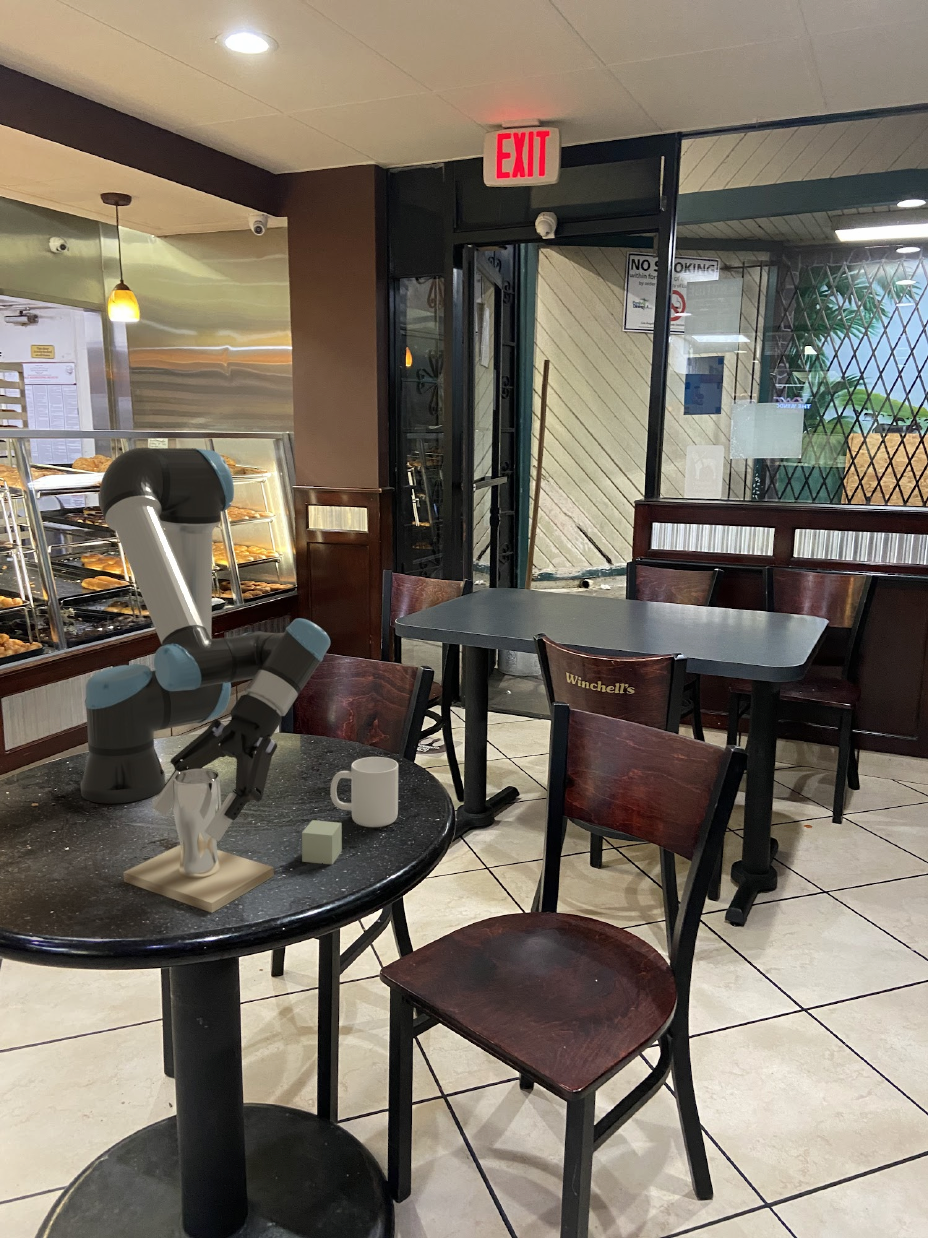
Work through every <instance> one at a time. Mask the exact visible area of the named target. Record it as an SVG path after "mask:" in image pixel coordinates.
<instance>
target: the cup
mask: <svg viewBox="0 0 928 1238" xmlns="http://www.w3.org/2000/svg"><path fill="white" fill-rule="evenodd" d="M350 768H351V770H341V771H338V772H337V773H336V774H335V775H334V776H333V778H332V779H331V784H330V798H331V802H332V803H333V805H334V806H335V807H336V808H337V809H340V810H342V811H351V818H352V821H353V822H354V823H356V824H357V825H359V826H362V827H365V828H366V827H368V828H379V827H386V826H389V825H392V824H393V823H394V822H395V821H396V820H397V818H398V815H399V814H398V811H399V762H397V761H396V760H394V759H392V758H389V757H383V756H382V757H381V756H369V757H367V756H366V757H363V758H359V759H356V760H354V761H353V762H352V763H351V767H350ZM341 779H349V780H351V783H350V784H351V785H350V786H351V789H350V790H351V802H343V801H340V799H339V798H338V794H337V789H338V788H337V787H338V783H339V781H340V780H341Z"/></svg>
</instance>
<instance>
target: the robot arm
mask: <svg viewBox="0 0 928 1238" xmlns="http://www.w3.org/2000/svg"><path fill="white" fill-rule="evenodd" d="M233 479H234V478H233V475H232V472H231V470H230V467H229V466H228V463H227V462H226V460H225V459H224V457H222V456H221V454H220V453H218V452H217V451H214V450H211V449H203V448H196V447H192V448H191V447H185V448H183V447H182V448H181V447H177V448H176V447H171V448H169V447H168V448H166V447H164V448H163V447H162V448H161V447H158V448H156V447H155V448H153V447H142V446H141V447H136V448H131V449H129V450H126V451H125V452H122V453H121V454H120V455H118V456H117V457H116V458H114V459H113V460H112V461H111V462H110V464H109V465H108V467H107V468H106V470H105V472H104V473H103V476H102V479H101V482H100V487H99V506H100V509H101V513H102V516H103V518H104V520H105V521H104V522H105V524H106V525H107V527H108V528H109V529H111V531H115V532H116V535H117V537H118V539H119V542H120V545H121V547H122V550H123V552H124V555H125V557H126V559H127V562H128V564H129V566H130V569H131V571H132V573H133V576H134V579H135V582H136V584H137V587H138V589H139V592H140V593H141V596H142V599H143V602H144V604H145V606H146V609H147V611H148V614H149V617H150V619H151V621H152V625H153V626H154V629H155V631H156V634H157V636H158V639H159V642H160V644H161V646H160V647H158V649H157V650H156V651H155V654H154V658H153V666H154V669H155V670H154V669H153V670H151V668H150V667H149V666H148V665H146V664H141V663H140V664H137V663H134V664H128V665H127V664H124V665H123V664H122V665H118V666H113V667H109V668H105V669H103V670H100V671H99V672H97V673H95V674H93V675H92V676H91V677H90V678H89V679H88V680H87V682H86V685H85V700H84V706H85V711H86V713H85V714H86V724H87V725H86V727H87V741H88V742H87V743H88V744H87V745H88V756H87V760H86V763H85V767H84V772H83V776H82V778H81V781H80V794H81V796H82V798H83V799H85V800H86V801H90V802H93V803H99V804H125V803H132V802H137V801H141V800H145V799H148V798H151V797H152V796H155V795H158V796H157V798H156V799H155V801H154V802H153V804H152V805H151V808H152V809H153V810H156V812H158V813H159V814H161V815H163V816H164V817H166V816H167V815H168V814H169V812H170V810H171V809H173V777H174V776H175V775H176V774H177V773H179V772H182V771H185V770H189V769H197V768H204V767H206V766H207V765H210V763H213V762H214V761H216V760H218V759H220V758H225V757H229V758H234V759H235V760H236V769H235V770H236V771H235V773H236V774H235V788H234V789H232V792H229V793H228V795H227V797H225V799H224V801H223V802H222V803H221V807H220V809H219V810H218V812H217V813H216V815H215V816H214V818H213V819H212V821H211V822H210V824H209V825H208V827H207V828H206V830H205V831H204V832H206V833H207V834H208V835H210V836H211V837H213V838H214V839H215V840H217V842H220V841H221V839H222V838H223V836H224V835H225V833H226V832H227V829H229V827H230V825H231V823H233V821H235V820H236V819H237V818H238V817H239V815H240V814H241V811H243V809H244V808H245V805H246V804H247V803H249V802H251V801H252V802H253V801H255V803H257V802H261V801H262V800H263V797H264V796H263V795H264V792H265V787H266V783H267V779H268V775H269V771H270V766H271V764H272V763H271V761H272V759H273V756H274V755H275V752H276V750H277V749H278V744H277V743H276V742H275V741H274V740H273V739H272V738H271V737H272V736H273V735H274V733H275V732H276V731H277V729H278V727H279V726H280V724H281V723H282V717H285V716H286V714H287V713H288V711H289V710H290V708H291V707H292V705H294V703H295V701H296V699H297V698H298V696H299V694H300V693H301V692H302V691H303V689H304V688H305V687H306V685H307V683H308V682H309V680H310V679H311V677H312V676H313V674H314V673H315V671H316V670H317V668H318V667H319V665H320V664H321V662H323V659H324V656H325V655H326V653H327V652H328V650H329V648H330V646H331V639H330V636H329V635H328V633H327V632H326V631H325V630H324V629H323V628H321V627H320V626H319V625H317V624H316V623H314V622H312V621H311V620H309V619H306V618H300V617H299V618H295V619H293V620H292V622H291V623H290V624H289V625H288V626H286V627H285V631H284V632H266V631H265V632H264V631H258V630H257V631H250V632H246V633H243V634H240V635H236V636H226V637H219V638H218V637H217V638H212V619H213V618H212V615H213V614H212V613H213V612H212V609H213V608H212V607H213V606H212V605H213V604H212V603H213V601H212V600H213V599H212V598H213V593H212V591H213V532H214V529H215V528H216V527H217V526H219V525H220V524H221V521H222V516H221V515H222V512H225V511H227V510H229V509H230V508H231V506H232V502H233V501H234V496H235V485H234V480H233ZM246 680H250V682H249V683H248V684H247V686H246V688H245V689H244V693H245V694H242V695H240V697H239V698H238V700H237V701H236V702H235V704H234V705H233V707H232V709H231V710H230V721H229V722H228V723H226V724H223V722H221V720H220V719H218V717H220V716H221V715H222V714H224V712H225V711H226V709H227V707H228V705H229V702H230V697H231V691H232V685H231V683H234V682H240V681H246ZM211 720H213V721H212V722H211V723H210V724H209V726H208V727H207V728H206V729H205V730H204V731H203V732H201V734H199V735H198V736H197V737H196V738H195V739H194V740H192V741H191V742H190V743H188V744H187V745H186V746H185V747H184V748H183V749H181V750H180V751H179V752H178V753H176V754H175V755H174V756H173V757H172V758H171V759H170V762H169V763H170V764H172V766H173V767H174V768H173V769H174V771H173V772H172V774H171V775H170V777H169V779H168V780H167V781H166V774H165V771H164V769H163V766H162V763H161V761H160V759H159V755H158V753H157V751H156V749H155V739H154V737H155V735H154V734H155V733H154V732H157V731H164V730H167V729H172V728H176V727H183V726H188V725H192V724H202V723H204V722H207V721H211ZM159 793H160V794H159Z"/></svg>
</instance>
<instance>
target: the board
mask: <svg viewBox="0 0 928 1238" xmlns="http://www.w3.org/2000/svg"><path fill="white" fill-rule="evenodd" d="M217 853H218V857H219V861H220V869H219V870H218V871H217V872H216V873H214V874H212V875H210V876H207V877H203V878H188V877H184V876H182V875H181V874H180V873H179V864H180V858H181V847H180V844H179V845H177V846H175V847H173V848H171V849H169V850H166V851H165V852H162V853H161V854H158V855H156V856H154V857H152V858H150V859H148V860H146V861H144V862H142V863H140V864H138V865H136V866H134V867H131V868H129V869H128V870H126V871H123V882H124V883H127V884H130V885H133V886H135V887H139V888H141V889H144V890H147V891H149V892H152V893H155V894H158V895H161V896H163V897H167V898H168V899H172V900H174V901H175V900H176V901H178V902H181V903H183V904H186V905H189V906H192V907H195V908H197V909H200V910H204V911H206V912H208V913H210V914H213V913H214V912H216V911H217V910H219V909H221V908H223V907H224V906H226V905H228V904H230V903H231V902H233V901H234V900H236V899H238V898H240V897H241V896H243V895H244V894H246V893H248V892H249V891H252V889H254V888H257V887H259V885H261V884H263V883H264V882H266V881H268V880H270V879H271V878H273V877H274V872H275V871H274V867H273V866H272V865H267V864H264V863H261V862H258V861H255V860H251V859H248V858H245V857H241V856H239V855H235V854H232V853H229V852H225V851H222V850H220V849H217Z"/></svg>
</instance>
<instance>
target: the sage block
mask: <svg viewBox="0 0 928 1238" xmlns="http://www.w3.org/2000/svg"><path fill="white" fill-rule="evenodd" d="M342 824H343V823H342V822H336V821H335V822H333V821H324V820H313V819H312V820H311V821H310V822H309V823H308V825H307V826H306V827H305V828H304V829H303V830H302V832H301V853H302V854H301V862H302V863H304V862H305V863H312V864H313V863H314V864H322V863H323V864H325V865H333V864H334V863H335V861H336V860H337V859H338V857H339V855H340V854H341V853H342V851H343V847H342V846H343V845H342V842H343V841H342V839H343V838H342V837H343V836H342V833H343V832H342V828H343V827H342Z"/></svg>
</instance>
